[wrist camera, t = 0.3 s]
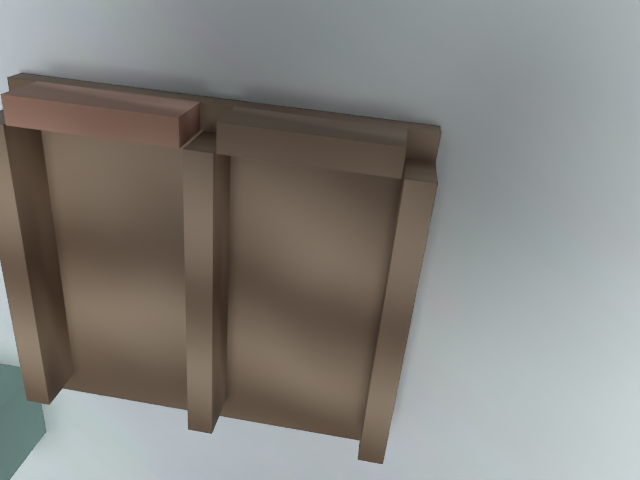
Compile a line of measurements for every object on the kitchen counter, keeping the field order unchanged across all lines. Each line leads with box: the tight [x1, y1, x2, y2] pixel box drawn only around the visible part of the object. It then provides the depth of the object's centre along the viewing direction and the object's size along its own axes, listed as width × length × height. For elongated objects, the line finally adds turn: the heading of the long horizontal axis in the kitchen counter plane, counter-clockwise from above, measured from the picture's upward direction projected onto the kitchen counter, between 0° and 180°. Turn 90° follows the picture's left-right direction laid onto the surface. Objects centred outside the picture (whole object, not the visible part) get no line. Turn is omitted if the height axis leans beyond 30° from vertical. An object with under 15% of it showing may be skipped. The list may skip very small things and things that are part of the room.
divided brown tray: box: [0, 73, 441, 464], centre depth 22 cm, size 14×15×3 cm
